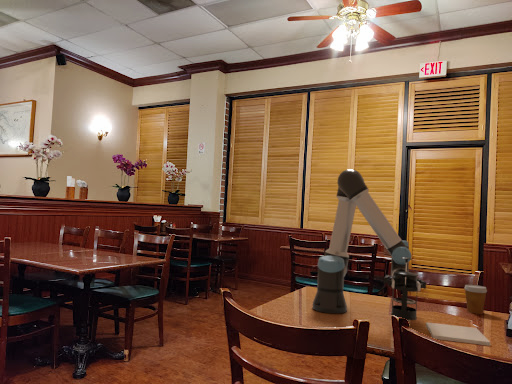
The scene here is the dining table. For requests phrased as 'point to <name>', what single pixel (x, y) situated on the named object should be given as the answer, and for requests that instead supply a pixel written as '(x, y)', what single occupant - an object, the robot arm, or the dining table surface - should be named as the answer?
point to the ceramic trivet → (457, 333)
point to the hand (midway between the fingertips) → (406, 286)
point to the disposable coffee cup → (475, 298)
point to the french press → (405, 295)
